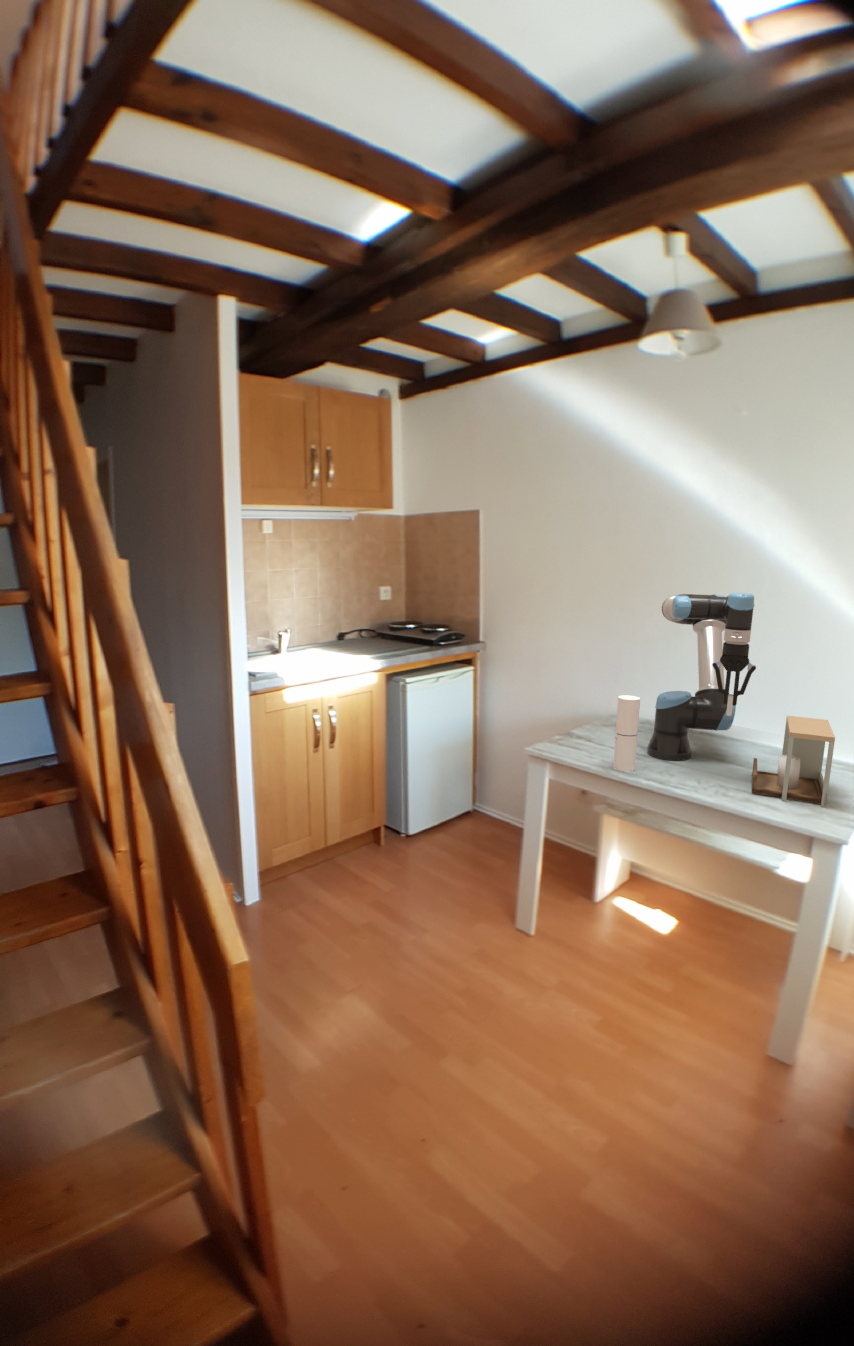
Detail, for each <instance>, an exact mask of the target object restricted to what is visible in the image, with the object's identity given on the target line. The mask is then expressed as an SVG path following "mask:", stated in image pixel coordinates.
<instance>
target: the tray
mask: <svg viewBox="0 0 854 1346" xmlns="http://www.w3.org/2000/svg"><path fill="white" fill-rule="evenodd" d="M752 763H753V764H752V773H751V794H756V795H762V796H769V797H775V798H781V799H782V791H783V787H780V786H778V785H777V775H778V772H777V773H776V772H769V771H764V770H763V771H762V770H758V758H757V757H754V758H753V762H752ZM787 799H789V800H794V801H801V802H807V803H814V804H820V805H821V799H822V794H821V790H820V786H819V782H818V779H813V778H806V777H799V785H798V788H794V789H789V788H788V790H787V798H786V800H787Z"/></svg>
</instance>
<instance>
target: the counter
mask: <svg viewBox="0 0 854 1346" xmlns="http://www.w3.org/2000/svg"><path fill="white" fill-rule="evenodd" d="M826 742H827V743H828V749H827V755H826V763H825V771H824V777H823V774H822V771H823V763H824V754H825V748H826ZM835 742H836V736H835V734H834V732H833V729H832V726H831V724H830V722H829V720H828V719H822V718H821V719H820V718H812V717H804V716H803V717H802V716H793V715H786V719H785V729H784V736H783V744H782V745H783V746H782V753H781V755H787V758H786V766H785V775H784V783H783V791H782V798H781V801H782V802H786V801H787V790H788V782H789V774H790V766H791V757H792V756H796V757H799V758H800V759H801V760H800V773H799V777H806V778H813V779H818V782H819V786H820V790H821V794H822V799H821V804H820V807H821V808H825V809H826V808H827V801H828V793H829V785H830V777H831V771H832V762H833V758H834V757H833V755H834V748H835Z"/></svg>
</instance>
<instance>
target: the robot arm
mask: <svg viewBox="0 0 854 1346" xmlns="http://www.w3.org/2000/svg"><path fill="white" fill-rule="evenodd" d="M754 607H755V596H754V594H753V593H746V592H730V593H729V594H728V595H727V596H725V595H717V594H694V593H693V594H692V593H691V594H690V593H689V594H688V593H682V594H676V595H672V596H669V597H667V598H666V599H665V600H664V601H663V603H662V606H661V613H662V615H663V617H664V618H665V619H666V620H668V621H670V622H672V623H675V624H680V625H691V626H692V630H693V632H694V633H696V634H697V661H698V662H697V665H698V668H697V669H698V690H696V691H695V693H694V696H693V695H692V693H691V692H689V691H685V690H684V691H683V690H682V691H681V690H671V691H665V692H662V693H660V694H658V695H657V697H656V703H655V713H654V715H655V717H654V725H653V727H654V728H653V734H652V736H651V738H650V741H649V742H648V745H647V748H646V749H647V750H646V753H647V754H648V755H649V756H650V757H653V758H656V759H659V760H665V761H672V762H673V761H674V762H675V761H676V762H677V761H687V760H689V759H691V757H692V749H691V745H690V741H689V737H688V733H689V732H688V731H689V729H691V730H692V729H694V730H706V731H707V730H708V731H715V732H716V731H728V730H729V729H730V728H732V725H733V723H734V719H735V714H736V708H737V707H736V706H737V705H738V704H737V702H738V697H739V696H742V695H744V694H745V692H746V690H747V687H748V685H749V682H750V679H751V676H752V674H753V673H754V671H756V669H757V666H756V665H754V664H752V663H751V662H750V658H749V654H750V653H749V652H750V644H749V643H750V641H751V634H752V623H753V616H754V615H753V614H754ZM723 632H724V635H723ZM723 641H724V642H723ZM746 667H747V668H746ZM745 668H746V669H747V672H746V674H745V678H744V679H743V682H742V686H741V687H740V690H739V686H740V684H739V683H740V674H741V672H742V671H743V670H744V669H745ZM724 671H726V677H725V673H724ZM732 672H735V677H734V684H733V685H734V686H733V694H730V686H731V677H732V676H731V675H732Z"/></svg>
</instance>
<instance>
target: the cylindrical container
mask: <svg viewBox="0 0 854 1346" xmlns="http://www.w3.org/2000/svg"><path fill="white" fill-rule="evenodd" d="M640 707H641V698H640V696H635V695H628V694H627V695H626V694H624V695H618V697H617V710H616V721H615V722H616V725H615V735H614V736H615V738H614V752H613V762H612V763H613V766H612V767H614V768H616V769H617V770H616V771H618V770H621V771H620V772H622V771H632V772H634V771H635V770H636V759H637V746H638V745H637V743H638V730H639V721H640V720H639V718H640ZM614 768H613V769H614ZM633 770H634V771H633Z"/></svg>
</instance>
